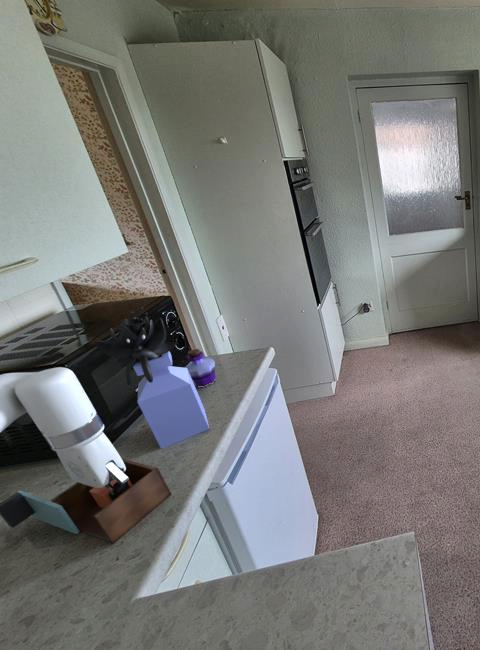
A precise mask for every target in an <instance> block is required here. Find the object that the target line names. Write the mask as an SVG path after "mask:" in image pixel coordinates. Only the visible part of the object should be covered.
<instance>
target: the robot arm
mask: <svg viewBox="0 0 480 650" xmlns="http://www.w3.org/2000/svg"><path fill="white" fill-rule="evenodd" d="M26 413H27V414H28V416H30V418H31V420H32V421H33V423H34V424H35V426H36V427H37V429H38V430H39V432H40V433H41V435H42V437H44V439H45V441H46V442H47V443H48V445H49V447H50V449H51V450H52V451H54V452H55V453H56V455H57V458H58V459H59V461H60V463H61V465H62V466H63V468H64V470H65V471H66V473H67V475H68V477H69V478H70V479H71V480H72V481H74V482H75V483H77V482H79V483H82V484H85V485H88V486H89V487H91V488H92V487H93V488H94V487H95V488H103V487H106V488H107V489H108V491H109V492H110V494H109V496H110V498H111V500H112V501H114V500H115V499H116V498H117V497H119V496H120V495H121V494H123V493H124V492H125V491H126V490H128V489H129V488H130V486H129V484H128V480H129V478H128V477H127V476H126V475H125V474H124V473H123V472H125V470H126V467H125V464H124V462H123V460H122V459H121V458H122V457H121V455H120V453H119V452H118V450H117V449H116V448H115V446H114V445H113V443H112V442H111V441H110V439H109V438H108V437H107V435H106V434H105V433H104V429H105V424H104V423H103V421H102V419H101V418H100V416H99V414H98V412H97V411H96V409H95V407H94V405H93V403H92V402H91V400H90V398H89V397H88V395H87V393H86V392H85V389H84V388H83V386H82V384H81V382H80V380H79V378H78V377H77V376H76V373H74V371H73V370H71V369H69V368H67V367H53V368H48V369H44V370H40V371H33V372H8V373H2V374H0V433H2V432H3V431H4V430H5V429H7V428H8V427H9V426H10V425H11V424H13V423H14V422H15V421H16V420H18V418H20V417H21V416H23V415H25V414H26ZM109 475H111V476H110V477H109ZM114 479H115V480H116V481H117V482H116V483H115V484H114V485H113V486H112V485H111V484H110V482H111V481H113V480H114ZM93 488H92V489H93Z"/></svg>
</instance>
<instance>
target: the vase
mask: <svg viewBox="0 0 480 650" xmlns="http://www.w3.org/2000/svg"><path fill="white" fill-rule="evenodd" d="M140 310H141V311H142V310H144V308H143V306H141V307H139V309H137V310H136V311H135V312H134V311H130V315H129V316H128V318H123V319H121V321H120V322H121V327H120V326H118V327H117V333H118V337H117V336H116V334H115V333H114V331H113V328H111V327H110V328H109V333H110V336H111V339H107V340H106V339H105V340H97V341H96V340H95V341H94V342H93V344H94V346H95V347H97V348H98V349H99V350H100V351H101V352H103V354H105V355H107V356H108V357H110V358H113V359H116V360H117V361H116V362H115V364H114V365H113V367H112V369H120V368H125V371H124V379H125V383H126V384H127V386H131V385H132V383H133V373H134V372H133V371H135V374H136V376H137V377H140V376H143V375H144V377H143V378H142V379H141V380H140V382H138V383H137V386H138V387H137V404H138V406H139V408H140V410H141V412H142V414H143V416H144V419H145V420H146V424H148V426H149V428H150V430H151V432H152V434H153V436H154V438H155V440H156V441H157V444H158V446H159V448H160V449H161V450H162V449H165V448H167V447H169V446H172V445H175V444H177V443H179V442H182V441H184V440H187V439H190V438H191V437H194V436H196V435H199V434H201V433H204V432H207V431H209V430H210V426H209V421H208V417H207V413H205V412H206V410H205V407H204V404H203V402H202V400H201V397H200V395H199V393H198V390H197V387H196V386H195V382H194V381H193V379H191V376H190V374H189V371H188V369H187V368H185V367H182V366H173V358H172V354H171V352H170V351H172V350H173V348H175V346H177V344H178V342H177V341H173V342H166V341H167V334H168V333H167V330H166V326H165V324H164V321H163V319H162V318H161V317H159V318H157V320H156V321H155V322H153V320H152V319H149V318H148V314H149V313H148V312H144V314H143V315H142V316H140V317H135V316H136V314H137V313H138V312H139V311H140ZM132 315H133V316H132ZM131 316H132V317H131ZM144 316H145V318H144V319H143V318H142V317H144ZM130 317H131V318H130Z"/></svg>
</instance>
